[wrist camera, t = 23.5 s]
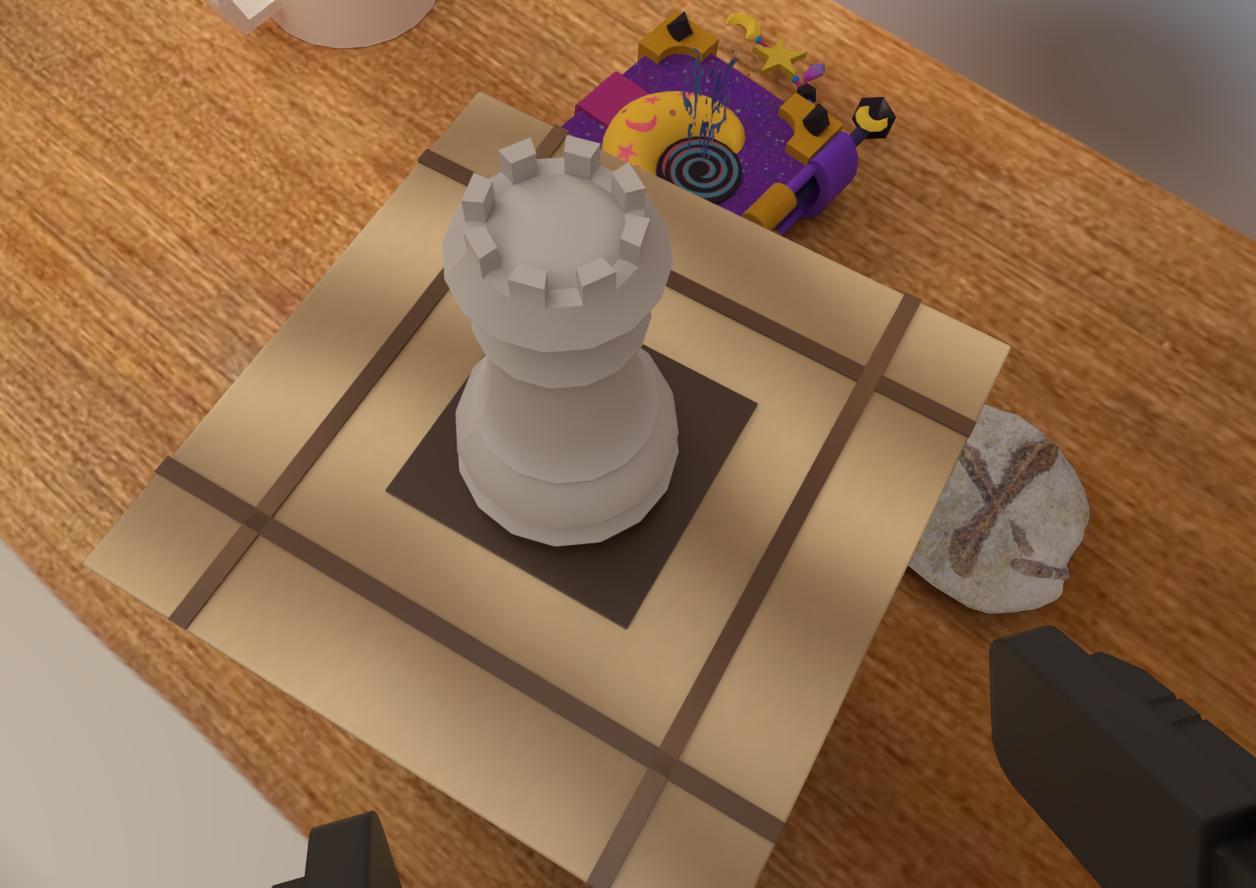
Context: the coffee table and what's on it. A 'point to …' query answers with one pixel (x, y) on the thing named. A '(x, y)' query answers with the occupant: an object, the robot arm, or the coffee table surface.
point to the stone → (1004, 519)
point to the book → (727, 125)
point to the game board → (572, 574)
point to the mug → (328, 18)
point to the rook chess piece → (562, 345)
